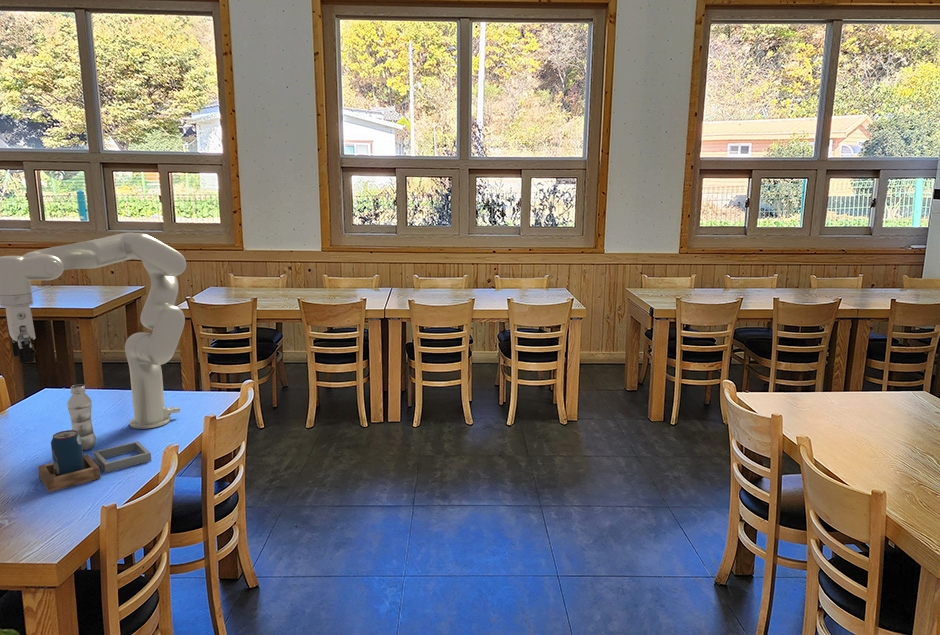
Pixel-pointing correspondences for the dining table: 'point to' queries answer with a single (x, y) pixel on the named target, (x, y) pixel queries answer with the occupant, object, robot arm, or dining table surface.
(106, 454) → the grey square frame
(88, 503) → the dining table surface
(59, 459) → the soda can
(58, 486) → the walnut holder
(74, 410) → the pale grey bottle
